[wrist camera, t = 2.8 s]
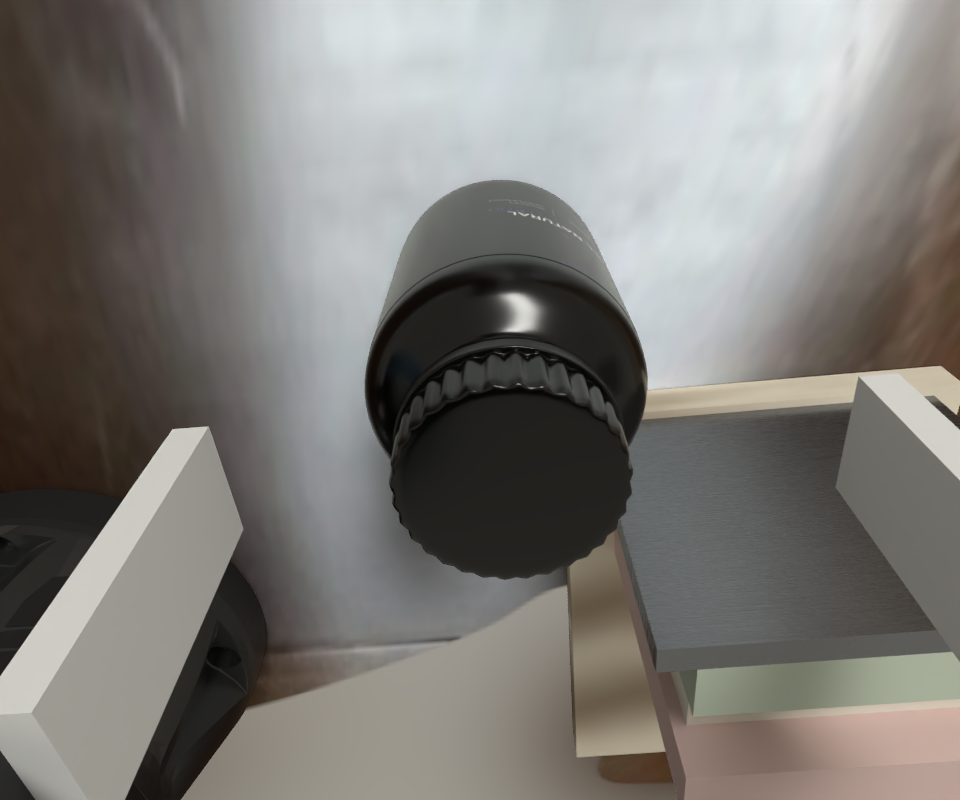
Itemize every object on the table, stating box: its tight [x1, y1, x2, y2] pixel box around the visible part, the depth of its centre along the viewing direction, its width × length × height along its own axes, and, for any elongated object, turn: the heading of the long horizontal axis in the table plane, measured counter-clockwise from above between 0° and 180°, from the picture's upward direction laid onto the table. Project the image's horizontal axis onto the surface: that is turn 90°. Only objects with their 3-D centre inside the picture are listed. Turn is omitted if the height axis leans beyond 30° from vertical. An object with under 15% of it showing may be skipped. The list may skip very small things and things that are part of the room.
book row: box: [614, 529, 960, 800], centre depth 22 cm, size 5×10×10 cm, turn 95°
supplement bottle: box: [365, 180, 648, 580], centre depth 19 cm, size 7×7×12 cm
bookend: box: [617, 396, 960, 673], centre depth 21 cm, size 1×12×10 cm, turn 96°
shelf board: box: [567, 366, 960, 757], centre depth 31 cm, size 20×14×2 cm
